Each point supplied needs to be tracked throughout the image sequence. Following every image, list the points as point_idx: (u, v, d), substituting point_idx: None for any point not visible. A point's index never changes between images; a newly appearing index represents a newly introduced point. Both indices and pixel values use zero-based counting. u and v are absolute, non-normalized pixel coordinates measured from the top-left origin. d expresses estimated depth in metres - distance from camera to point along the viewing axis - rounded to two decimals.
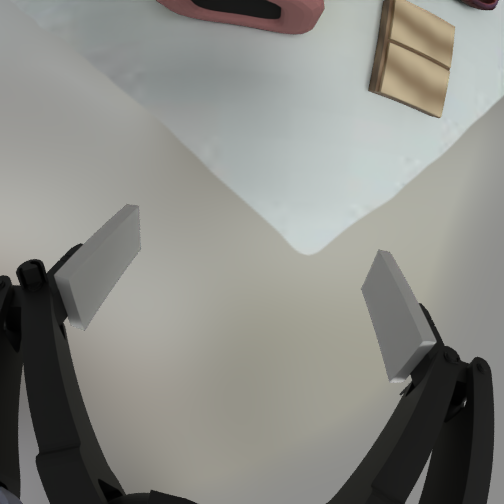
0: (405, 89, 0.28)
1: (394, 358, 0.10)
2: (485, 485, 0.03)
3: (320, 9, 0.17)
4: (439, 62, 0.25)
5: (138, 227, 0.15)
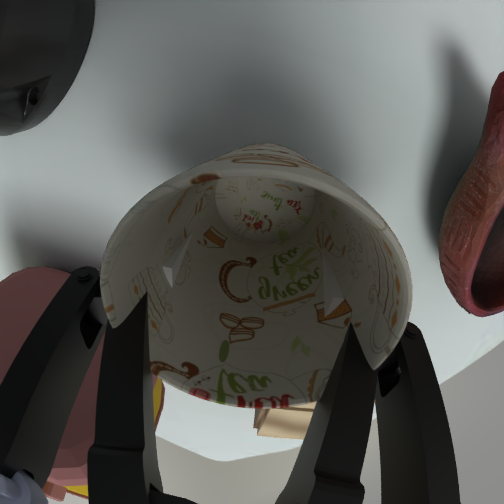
0: (289, 433, 0.27)
1: None
2: (449, 458, 0.05)
3: None
4: None
5: None
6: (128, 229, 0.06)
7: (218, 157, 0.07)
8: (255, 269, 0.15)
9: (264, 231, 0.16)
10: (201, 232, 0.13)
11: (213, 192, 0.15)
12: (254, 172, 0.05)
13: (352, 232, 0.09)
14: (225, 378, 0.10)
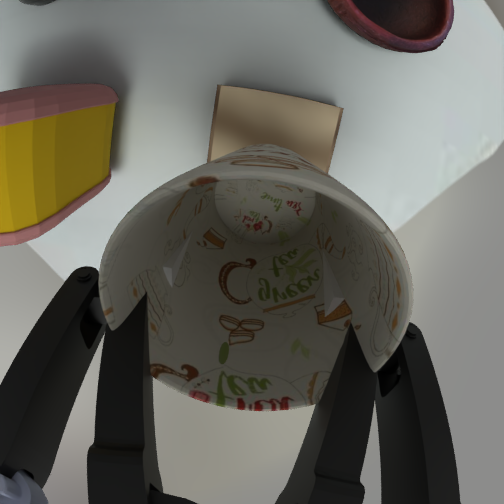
0: None
1: None
2: (449, 458, 0.05)
3: (48, 227, 0.17)
4: None
5: None
6: (127, 232, 0.06)
7: (217, 159, 0.07)
8: (255, 270, 0.15)
9: (264, 232, 0.16)
10: (201, 233, 0.13)
11: (213, 193, 0.15)
12: (253, 175, 0.05)
13: (352, 234, 0.09)
14: (225, 380, 0.10)
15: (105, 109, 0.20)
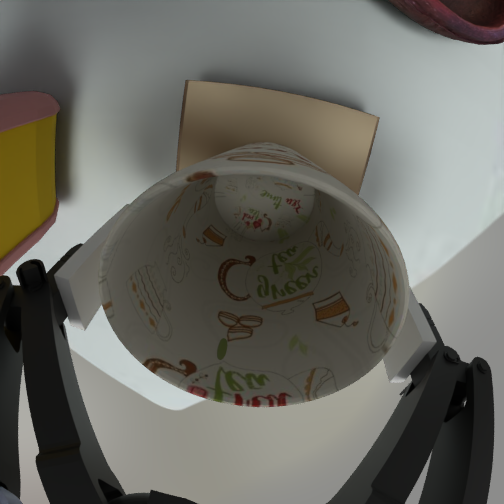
0: None
1: (394, 358, 0.10)
2: (485, 485, 0.03)
3: None
4: None
5: None
6: (126, 227, 0.06)
7: (216, 155, 0.07)
8: (254, 268, 0.15)
9: (263, 230, 0.16)
10: (200, 230, 0.13)
11: (212, 191, 0.15)
12: (249, 170, 0.05)
13: (350, 231, 0.09)
14: (223, 376, 0.10)
15: (32, 128, 0.12)
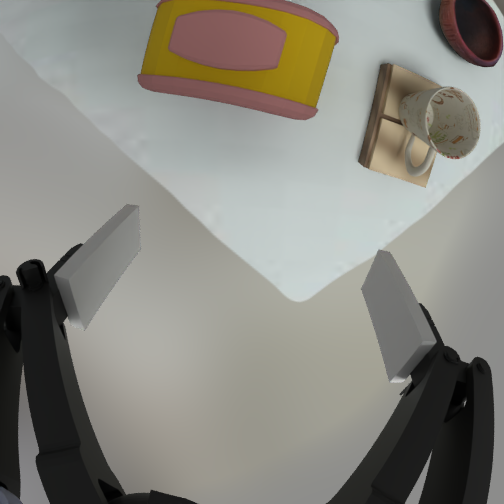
0: (393, 165, 0.35)
1: (394, 358, 0.10)
2: (485, 485, 0.03)
3: (313, 115, 0.24)
4: None
5: (138, 227, 0.15)
6: (436, 93, 0.21)
7: None
8: None
9: None
10: None
11: None
12: (458, 89, 0.19)
13: (458, 117, 0.24)
14: (440, 150, 0.24)
15: None
